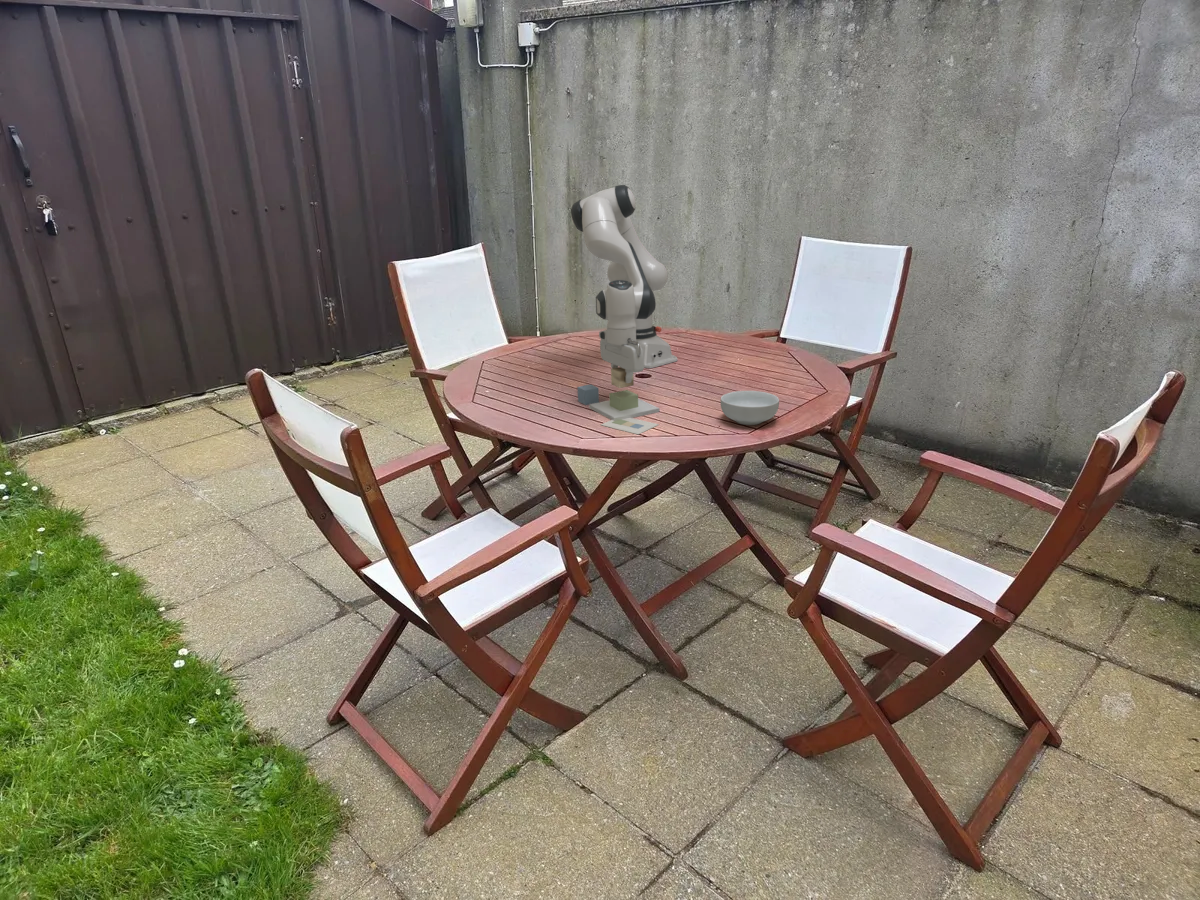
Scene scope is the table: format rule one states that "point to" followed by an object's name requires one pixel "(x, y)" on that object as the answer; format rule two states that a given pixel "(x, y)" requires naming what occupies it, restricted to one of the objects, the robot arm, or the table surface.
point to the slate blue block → (588, 394)
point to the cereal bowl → (749, 406)
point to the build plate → (625, 413)
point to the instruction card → (630, 425)
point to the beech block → (619, 378)
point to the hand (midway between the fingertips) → (622, 380)
